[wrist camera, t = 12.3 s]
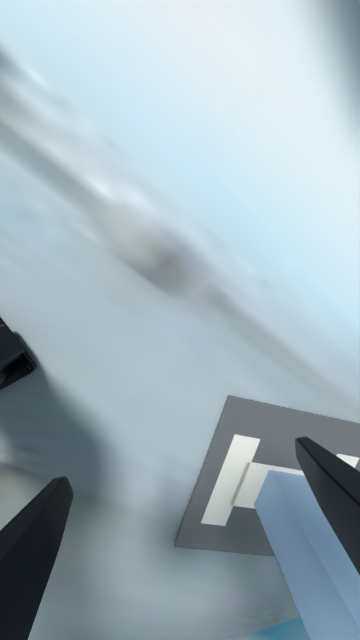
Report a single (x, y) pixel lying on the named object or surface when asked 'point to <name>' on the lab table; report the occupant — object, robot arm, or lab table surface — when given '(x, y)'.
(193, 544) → the letter mat
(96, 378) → the lab table surface
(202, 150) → the lab table surface
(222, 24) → the lab table surface
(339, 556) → the blue block
